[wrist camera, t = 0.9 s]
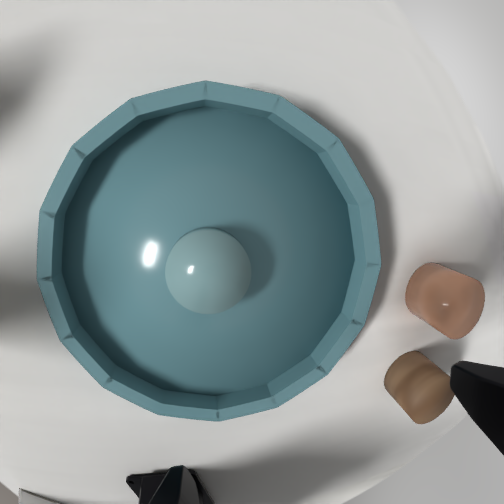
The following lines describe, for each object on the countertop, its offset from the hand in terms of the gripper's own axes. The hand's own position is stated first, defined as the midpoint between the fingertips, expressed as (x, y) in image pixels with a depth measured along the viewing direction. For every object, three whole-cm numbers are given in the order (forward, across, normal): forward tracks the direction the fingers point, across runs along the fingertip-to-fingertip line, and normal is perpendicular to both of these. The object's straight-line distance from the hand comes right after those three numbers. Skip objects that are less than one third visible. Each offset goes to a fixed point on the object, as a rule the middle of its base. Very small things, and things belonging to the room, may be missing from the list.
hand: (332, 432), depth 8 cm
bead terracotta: (+12, -12, +3) cm, 17 cm away
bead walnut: (+12, -10, +10) cm, 19 cm away
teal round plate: (+12, +2, -3) cm, 13 cm away
